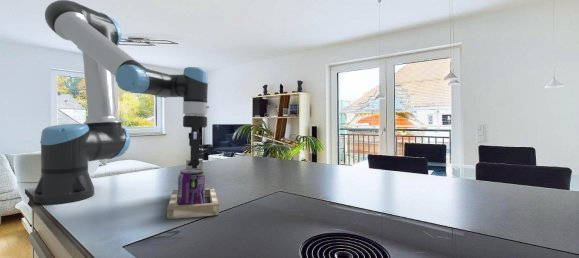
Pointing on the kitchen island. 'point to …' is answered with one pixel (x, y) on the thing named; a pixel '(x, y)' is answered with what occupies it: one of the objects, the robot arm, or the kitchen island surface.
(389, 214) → the kitchen island surface
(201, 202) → the beverage can
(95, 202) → the kitchen island surface
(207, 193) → the can sled
